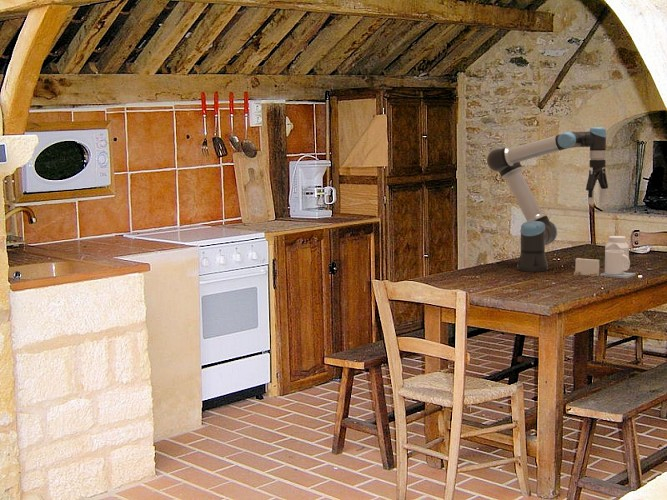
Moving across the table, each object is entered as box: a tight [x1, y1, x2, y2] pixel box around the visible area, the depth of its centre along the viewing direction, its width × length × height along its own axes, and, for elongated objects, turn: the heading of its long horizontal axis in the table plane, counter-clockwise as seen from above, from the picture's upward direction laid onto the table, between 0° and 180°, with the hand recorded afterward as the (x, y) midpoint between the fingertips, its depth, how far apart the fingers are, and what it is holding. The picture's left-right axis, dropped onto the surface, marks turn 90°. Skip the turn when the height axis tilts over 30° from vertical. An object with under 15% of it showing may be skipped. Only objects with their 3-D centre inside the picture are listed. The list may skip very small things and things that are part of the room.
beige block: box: [573, 257, 600, 278], centre depth 446 cm, size 11×5×8 cm, turn 51°
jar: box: [604, 235, 630, 268], centre depth 471 cm, size 12×10×15 cm
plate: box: [599, 271, 637, 280], centre depth 444 cm, size 13×11×1 cm
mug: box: [604, 250, 631, 275], centre depth 443 cm, size 9×12×11 cm
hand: (596, 203), depth 460 cm, fingers open, 13 cm apart
